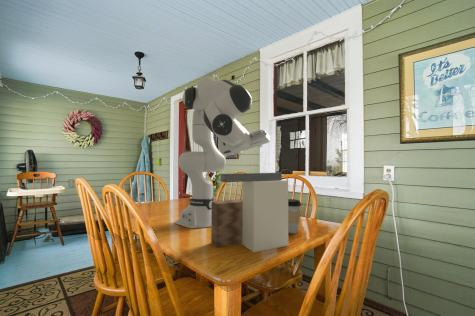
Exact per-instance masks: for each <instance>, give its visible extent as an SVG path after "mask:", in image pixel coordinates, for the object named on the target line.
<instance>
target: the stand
mask: <svg viewBox="0 0 475 316" xmlns="http://www.w3.org/2000/svg"><path fill="white" fill-rule="evenodd" d="M288 199H289V180H286V179H282V180H274V181H248V182H242V200H243V237H242V243H241V244H242V246H244V247H245V248H247V249H248V250H250V251H251V252H253V253H257V252H262V251H268V250H273V249H278V248H283V247H288V246H289V233H288Z"/></svg>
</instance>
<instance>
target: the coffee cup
mask: <svg viewBox="0 0 475 316" xmlns="http://www.w3.org/2000/svg"><path fill="white" fill-rule="evenodd" d="M301 206H302V202H301V201H300V200H299V199H294V198H293V199H292V198H288V234H297V233H298V232H299V225H300V224H299V223H300V220H301V219H300V217H301V216H300V215H301Z"/></svg>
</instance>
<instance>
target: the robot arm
mask: <svg viewBox="0 0 475 316" xmlns="http://www.w3.org/2000/svg"><path fill="white" fill-rule="evenodd" d="M182 103H183V104H184V105H183V106H184V107H185V108H187V109H189V110H193V115H192V123H191V124H192V127H191V128H192V130H191V131H192V141H193V142H194V143H195V144H196V145H198V146H200V147H201V148H202V151H196V150H195V151H192V150H191V151H185V152H182V153H181V154H180V155H179V156H178V161H177V162H178V166H179V169H180V170H181V171H182V172H184V174H186V175H187V176H188V178H189V180H190V183H191V191H192V192H191V196H192V197H191V198H189V199H187V200H188V202H189V205H187V206H186V207H185V208H184V209H182V210H181V211H180V214H179V219H177V220H176V221H174V224H175V225H179V226H182V227H184V228H185V227H186V228H189V229H196V228H211V217H212V202H214V201H215V198H214V184H213V182H212V181H211V180H210V179H208V178H206V177H204V175H203V173H215V172H220V171H223V170H224V169H225V167H226V163H227V160H226V157H230V156H232V155H235V154H238V155H241V154H243V152H244V151H248V150H250V149H253V148H257V147H258V148H263V145H264V144H268V143H270V142H271V139H270V138H271V137H270V135H269V133H268V132H267V130H264V129H258V130H255V131H252V132H249V131H248V130H247V129H246V128H245V127H244V126H243V125H242V123H240V121H238V120H237V118H238V117H240V116H241V115H242V114H244V113H246V112H248V111H249V110H251V108H252V104H253V98H252V96H251V94H250V92H249V91H248V90H247V89H246V88H245V87H244V86H243V85H241V84H237V83H234V82H231V81H230V80H227V79H221V80H220V79H219V80H216V78H214V77H212V76H209V75H206V76H203V77H201V78H200V79H199V80H198V82H197V85H196V87H195V86H193V85H192V86H191V87H187V88H186V89H184V92H183V94H182ZM214 135H216V137H217V138H218V139H217V143H218V147H217V145H216V143H215V140H214V138H215V137H214Z"/></svg>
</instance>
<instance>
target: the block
mask: <svg viewBox="0 0 475 316" xmlns="http://www.w3.org/2000/svg"><path fill="white" fill-rule="evenodd" d="M210 228H211V229H210V230H211V235H210V236H211V237H210V238H211V239H210V240H211V244H212V245H213V246H214V247H215V248H222V247H228V246H234V245H235V246H236V245H241V244H242V237H243V198H241V199H228V200H227V199H226V200H217V201H215V200H214V202H212V217H211V226H210Z"/></svg>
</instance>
